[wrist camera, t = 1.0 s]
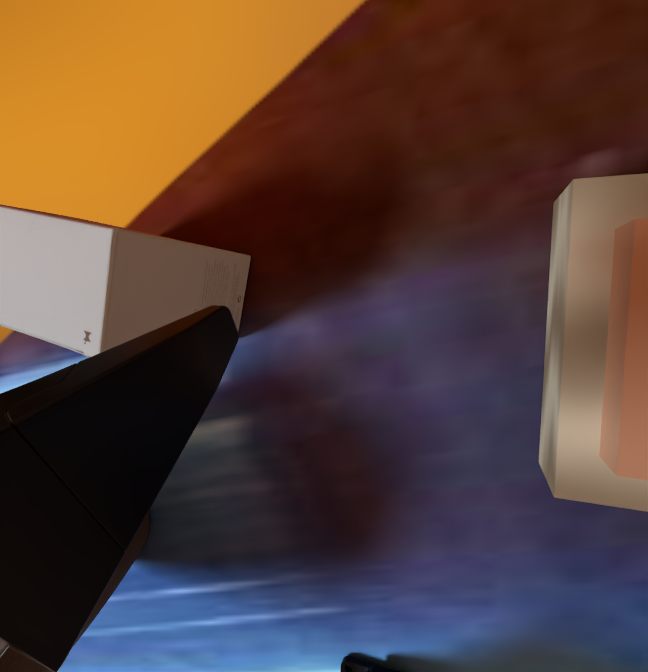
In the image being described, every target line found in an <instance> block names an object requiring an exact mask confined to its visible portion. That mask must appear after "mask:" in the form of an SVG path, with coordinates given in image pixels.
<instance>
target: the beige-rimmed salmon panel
mask: <svg viewBox="0 0 648 672" xmlns="http://www.w3.org/2000/svg"><path fill="white" fill-rule="evenodd" d="M599 457H600V458H601V459H602V460H603V461H604V462H605V464H606V465H607V466H608V467H609V468H610V469H611V471H612V472H613V473H614V474H615V475H616V476H620V477H627V478H635V479H643V480H648V218H645V219H634V220H632V221H630V222H628V223H626V224H624V225H622V226H620V227H618V228H616V229H615V238H614V252H613V267H612V281H611V295H610V309H609V323H608V338H607V352H606V366H605V380H604V394H603V408H602V423H601V437H600V451H599Z"/></svg>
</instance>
